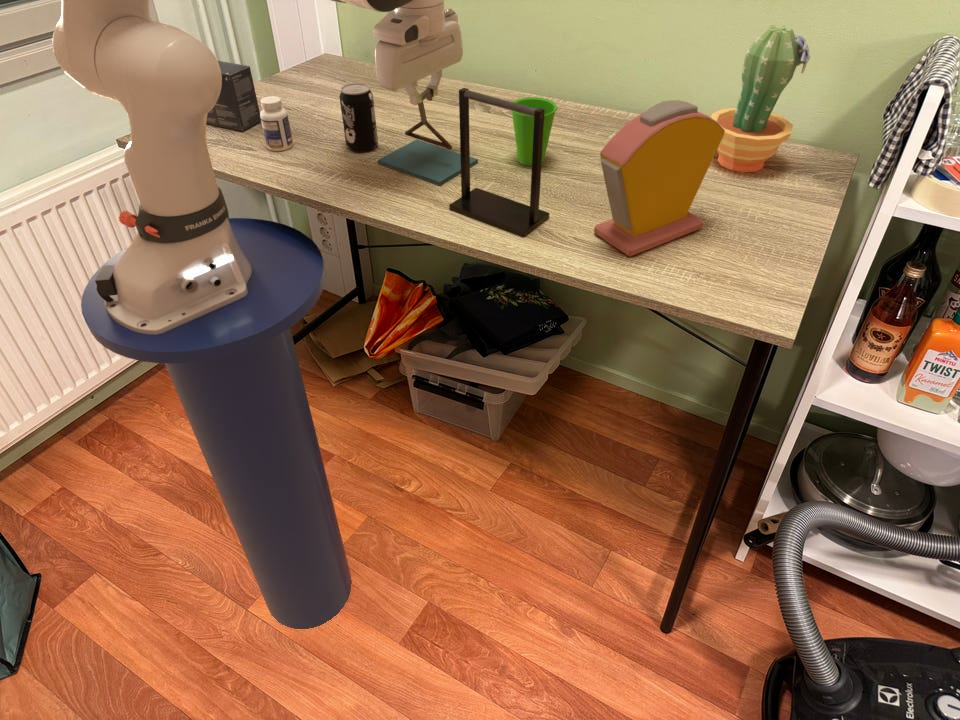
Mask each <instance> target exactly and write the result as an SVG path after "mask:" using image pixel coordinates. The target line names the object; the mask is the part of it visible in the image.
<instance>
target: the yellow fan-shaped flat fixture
mask: <svg viewBox="0 0 960 720" xmlns="http://www.w3.org/2000/svg"><path fill="white" fill-rule="evenodd" d="M698 109H699V106H697V105H695V104H692V103H690V102H688V101H685V100H679V99H677V100H674V99H673V100H672V99H671V100H664V101H663V100H662V101H661V102H659V103H656V104H654V105H652V106H651V107H649V108H648V109H647V110H645V111H644V112H641V113H640V114H638V115H637V116H636V117H634V118H632V119H631V120H630V121H628V122H626V124H625V125H624V126H623V127H621V129H619V131H617V132H616V133H615V134H614V135H613V136H612V137H611V138H610V140H608V142H607V143H606V144H605V146H604V147H603V148H602V149H601V150H600V153H599V155H600V165H601V169H602V174H603V179H604V185H605V188H606V193H607V198H608V203H609V207H610V212H611V216H612V218H611V219H608V220H605V221H603V222H600V223H597V224H596V225H594V230H593V233H594V234H595V235H597V236H598V237H599V238H601V239H603V240H604V241H605V242H607V243H608V244H610V245H611V246H613V247H614V248H616V249H617V250H619V251H620V252H621V253H623V254H624V255H626V256H627V257H629V258H630V257H633V256H636V255H638V254H641V253H643V252H646V251H648V250H650V249H653V248H655V247H658V246H660V245H663V244H666V243H667V242H671V241H673V240H675V239H678V238H682V237H683V236H686V235H688V234H690V233H693V232H696V231H698V230H701V229H703V225H704V220H702V219H701V218H700V217H698V216H696V215H694V214H692V212H691V213H690V212H689V211H690V209H691V207H692V204H693V202H694V200H695V198H696V196H697V194H698V191H699V189H700V188H701V186H702V185H701V184H702V183H703V181H704V178H705V176H706V174H707V172H708V170H709V169H710V166H711V164H712V162H713V159H714V157H715V155H716V154H717V152H718V151H717V149H718V147H719V145H720V142H721V140H722V138H723V136H724V134H725V133H724V132H725V130H724V129H723V128H722V127H721V125H720V124H719V123H718V122H717V121H715V120H714V119H712V118H711V116H708V115H707V114H706V113H705V114H704V113H703V112H700V111H698Z"/></svg>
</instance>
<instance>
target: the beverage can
mask: <svg viewBox="0 0 960 720" xmlns="http://www.w3.org/2000/svg"><path fill="white" fill-rule="evenodd" d="M339 104H340V111H341V118H342V126H343V132H344V137H345V138H344V139H345V145H346V147H347V148H349V149H350V151H353V152H355V153H356V152H357V153H366V152H370V151H372V150H374V149H375V148H376V147H377V145H378V144H379V137H378V129H377V120H376V110H375V101H374V94H373V92H372V91H371V86H370V85H369V84H367V83H363V82H352V83H351V82H350V83H347V84H344V85H342V86H341V87H340V94H339Z"/></svg>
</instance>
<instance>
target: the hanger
mask: <svg viewBox="0 0 960 720" xmlns="http://www.w3.org/2000/svg"><path fill="white" fill-rule="evenodd" d="M421 94H422V103H420V104H418V105H417V107H418V112H419V117H420V121H419V122H418V123H416V124H415V125H413V126H412V127H410V128H409V129H407V130H406V131H404V135H405V136H407V137H410V138H414V139H415V140H416V139H417V140H420V141H423V142H426V143H429V144H433V145H436V146H439V147H442V148H445V149H448V150H453V145H452V144H451V143H449V141H448V140H446V139H445V138H444V136H443V135H442V134H441V133H439V132H438V130H437V129H435V127H433V125H432V124H431V123H429V121H428V119H427V115H426V114H427V113H426V109H425V104H424V101H425V100H426V101H429V102H432V101H433V99H434V98H433V97H432V93H431V90H429V89H426V88H425V90H424V91H422V92H421ZM423 126H424V127H426V128H427V129H428V130H429V131H430V132H431V134H433V135H434V136H435V137H436V138H437V139H438V140H436V139H433V138H429V137H426V136H424V135H421V134H417V133H414V132H416V130H418V129H420V128H421V127H423Z"/></svg>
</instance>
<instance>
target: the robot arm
mask: <svg viewBox="0 0 960 720" xmlns="http://www.w3.org/2000/svg"><path fill="white" fill-rule="evenodd" d="M330 1H332V2H337V3H341V4H349V5H352V6H355V7H358V8H362V9H367V10H370V11H374V12H377V13H386V14H385V15H384V16H383V18H382V19H380V20H379V21H378V22H377V23H376V24H375V25H374V26H373V29H372V33H373V38H374V39H375V40H376V41H378V42H376V45H375V49H374V63H375V72H376V74H375V75H376V80H377V83H378V84H379V86H380V87H381V88H383V89H385V90H387V91H393V92H395V91H398V90H401V89H402V88H404V89H405V90H406V92H407V94H408V96H409V103H410V104H411V105H413V106H418V104H420V103H422V94H421V93H422V92H421V93H420V92H418V90H417V87H418V81H421V80H422V79H425V78H427V77H429V76H430V77H429V81H428V85H425V90H426V89H429V90H431V93H432V98H435V97H436V96H439V86H440V82H441V80H442V77H443V70H444V69H447V68H449V67H451V66H453V65H456V64H458V63H460V62H461V61H462V58H463V55H464V49H463V48H464V47H463V38H462V32H461V31H462V30H461V26H460V24H459V16H458V14H457V13H456V11H455V10H453V8H446V9H445V0H330ZM150 14H151V13H150V0H61V16H60V19H59V21H58V22H57V23H56V25H55V27H54V30H53V34H52V50H53V53H54V57H55V60H56V61H57V63H58V65H59V67H60V68H61V69H62V71H63V72H64V73H65V74H66V75H67V76H69V78H71V79H72V80H73V81H75V82H76V83H77V84H78V85H80V86H81V87H82V88H84V89H86V90H87V91H88V92H90V93H92V94H94V95H96V96H99V97H102V98H104V99H108V100H111V101H114V102H117V103H119V104H120V105H121V106H122V107H123V109H124V111H125V112H126V114H127V117H128V121H129V127H130V129H129V130H130V141H129V142H128V143H127V145H126V147H125V149H124V151H123V159H124V164H125V166H126V169H127V171H128V174H129V176H130V180H131V182H132V185H133V187H134V190H135V193H136V195H137V198H138V200H139V205H138V213H137V215H136V214H133V213H132V212H130V211H128V210H123V211H122V212H120V213H119V216H118V221H119V222H120V224H122V225H124V226H126V227H128V228H130V229H132V228H136V230H137V234H135V236H134V238H133V239H132V241H131V242H130V244H129V245H128V246H127V247H128V248H127V247H126V248H127V250H126V251H125V253H124V254H123V255H122V257H121V258H120V260H119V261H118V262H117V264H116V265H105V266H102V268H101V270H100V272H99V274H98V276H97V278H96V280H95V282H96V284H97V287H96V289H97V292H98V294H99V295H100V296H101V297H102V298H103V299H104V300H105V307H106V310H107V312H108V314H109V315H110V317H111V318H112V319H114V320H115V321H116V322H117V323H119V324H120V325H122V326H124V327H125V328H127V329H129V330H131V331H134V332H137V333H141V334H147V335H159V334H162V333H164V332H167V331H169V330H171V329H173V328H176V327H178V326H180V325H182V324H185V323H187V322H189V321H192V320H194V319H196V318H198V317H201V316H203V315H205V314H207V313H210V312H212V311H214V310H216V309H219V308H221V307H223V306H225V305H228V304H230V303H232V302H234V301H237V300H239V299H241V298H243V297H245V296H246V295H247V293H248V288H247V282H248V280H249V278H250V276H251V274H252V267H251V264H250V262H249V261H248V260H247V258H246V257H245V255H244V253H243V252H242V250H241V248H240V246H239V244H238V242H237V240H236V238H235V236H234V233H233V231H232V228H231V226H230V223H229V221H228V220H229V218H230V216H229V209H228V206H227V203H226V200H225V196H224V194H223V190H222V189H221V188H220V187H219V186H218V183H217V179H216V175H215V172H214V167H213V164H212V161H211V156H210V153H209V152H210V151H209V149H208V142H207V124H206V121H207V115H208V112H209V111H210V110H211V109H212V108H213V107H214V105H215V104H216V102H217V100H218V98H219V95H220V92H221V86H222V76H221V70H220V66H219V63H218V61H219V60H218V59H217V57H216V55H215V54H214V52H213V51H212V50H211V49H210V48H209V47H208V46H207V45H206V44H204V43H203V42H201V41H200V40H198V39H197V38H196V37H194V36H192V35H191V34H189V33H188V32H186V31H184V30H182V29H180V28H178V27H176V26H173V25H169V24H166V23H162V22H158V21H154V20H152V18H151V15H150Z"/></svg>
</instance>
